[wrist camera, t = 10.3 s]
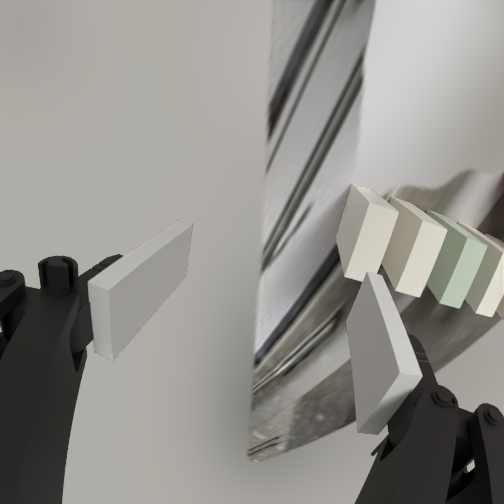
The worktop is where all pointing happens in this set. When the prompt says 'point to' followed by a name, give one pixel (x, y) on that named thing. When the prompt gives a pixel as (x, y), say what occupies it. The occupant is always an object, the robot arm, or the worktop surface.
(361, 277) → the tile
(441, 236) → the tile
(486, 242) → the tile
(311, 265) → the worktop surface
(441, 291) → the tile
